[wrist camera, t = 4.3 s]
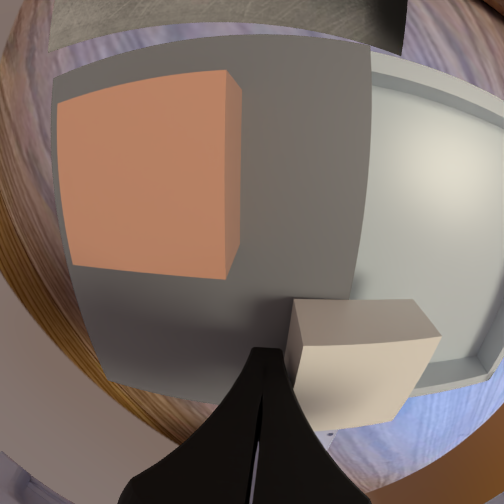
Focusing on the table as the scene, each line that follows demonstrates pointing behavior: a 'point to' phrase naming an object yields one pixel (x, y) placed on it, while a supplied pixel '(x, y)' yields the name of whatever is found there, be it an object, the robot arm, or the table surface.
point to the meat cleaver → (237, 17)
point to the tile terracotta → (153, 175)
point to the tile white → (356, 358)
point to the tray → (437, 215)
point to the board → (251, 212)
